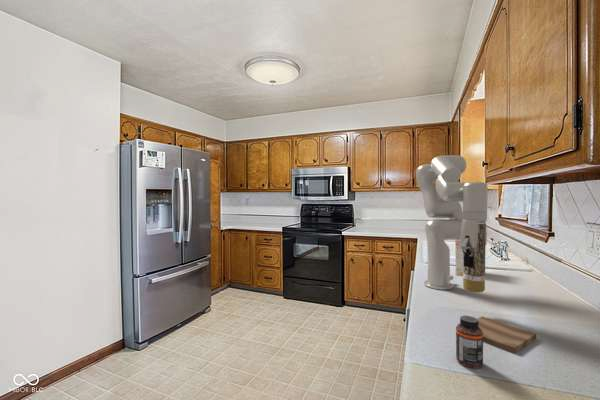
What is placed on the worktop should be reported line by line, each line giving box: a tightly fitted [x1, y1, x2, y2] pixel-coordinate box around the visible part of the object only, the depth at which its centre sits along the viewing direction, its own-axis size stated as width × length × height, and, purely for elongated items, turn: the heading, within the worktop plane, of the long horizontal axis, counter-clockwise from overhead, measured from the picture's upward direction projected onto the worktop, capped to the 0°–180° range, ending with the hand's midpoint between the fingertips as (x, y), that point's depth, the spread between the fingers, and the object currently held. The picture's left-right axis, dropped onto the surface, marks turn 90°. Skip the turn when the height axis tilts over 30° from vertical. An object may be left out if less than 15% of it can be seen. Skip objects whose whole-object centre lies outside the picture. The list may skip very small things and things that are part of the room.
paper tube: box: [462, 221, 487, 293], centre depth 105 cm, size 7×7×25 cm
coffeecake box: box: [454, 240, 463, 277], centre depth 160 cm, size 15×7×20 cm, turn 139°
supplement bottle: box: [455, 315, 484, 369], centre depth 73 cm, size 6×6×11 cm
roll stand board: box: [477, 316, 537, 354], centre depth 88 cm, size 15×15×2 cm
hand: (474, 264), depth 105 cm, fingers closed on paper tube, 6 cm apart
